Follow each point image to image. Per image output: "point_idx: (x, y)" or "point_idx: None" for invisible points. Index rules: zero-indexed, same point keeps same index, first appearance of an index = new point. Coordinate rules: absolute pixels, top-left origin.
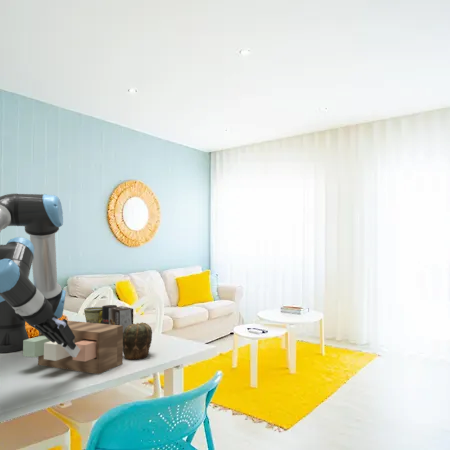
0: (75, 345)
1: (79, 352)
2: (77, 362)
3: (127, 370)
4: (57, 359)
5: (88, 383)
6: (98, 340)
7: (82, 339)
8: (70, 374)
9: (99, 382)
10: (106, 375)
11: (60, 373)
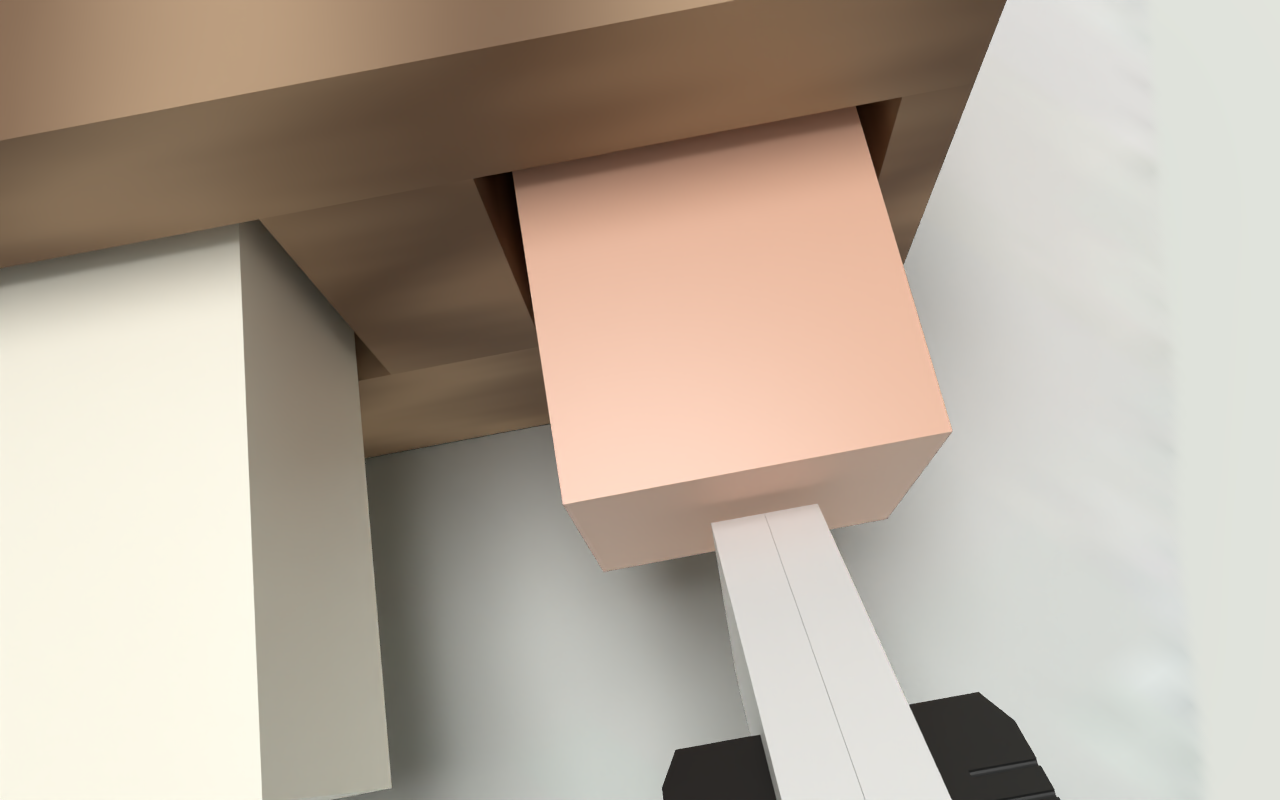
0: (1011, 738)
1: (763, 508)
2: (474, 395)
3: (1025, 85)
4: (386, 746)
5: (1090, 685)
6: (945, 87)
7: (473, 179)
8: (541, 577)
9: (1172, 573)
10: (985, 340)
11: (382, 627)
